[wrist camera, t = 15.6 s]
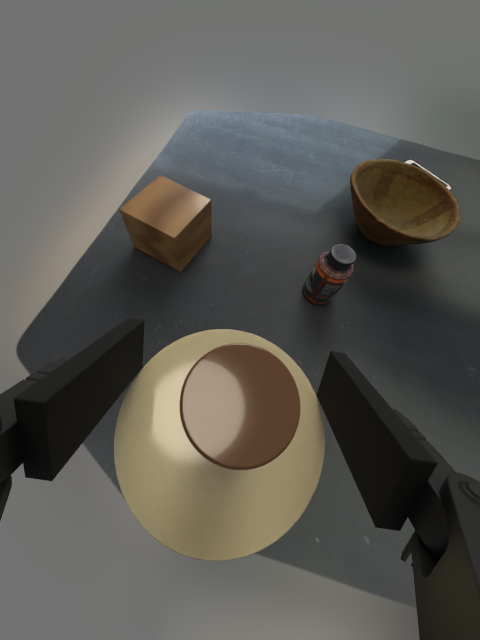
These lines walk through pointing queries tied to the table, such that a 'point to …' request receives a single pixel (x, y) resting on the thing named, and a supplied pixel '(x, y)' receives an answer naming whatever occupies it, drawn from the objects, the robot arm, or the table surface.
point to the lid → (219, 445)
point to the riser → (168, 222)
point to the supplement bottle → (329, 274)
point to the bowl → (401, 203)
